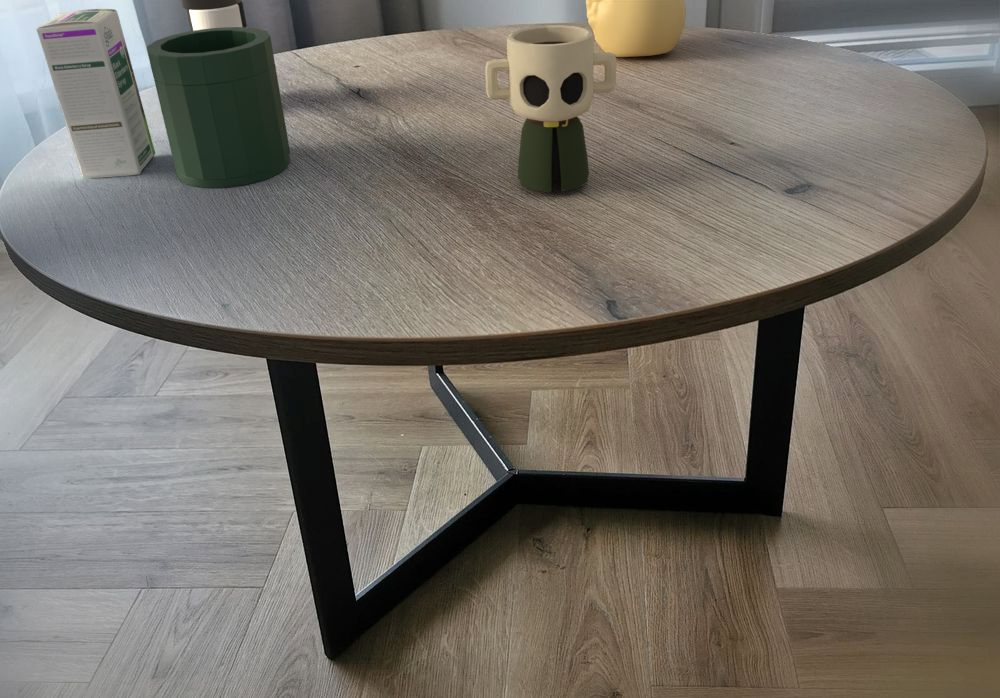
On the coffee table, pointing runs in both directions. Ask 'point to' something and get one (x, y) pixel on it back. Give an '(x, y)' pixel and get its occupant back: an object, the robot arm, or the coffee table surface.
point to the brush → (207, 4)
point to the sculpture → (636, 25)
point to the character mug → (551, 100)
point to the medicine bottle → (217, 17)
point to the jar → (221, 105)
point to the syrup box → (97, 92)
